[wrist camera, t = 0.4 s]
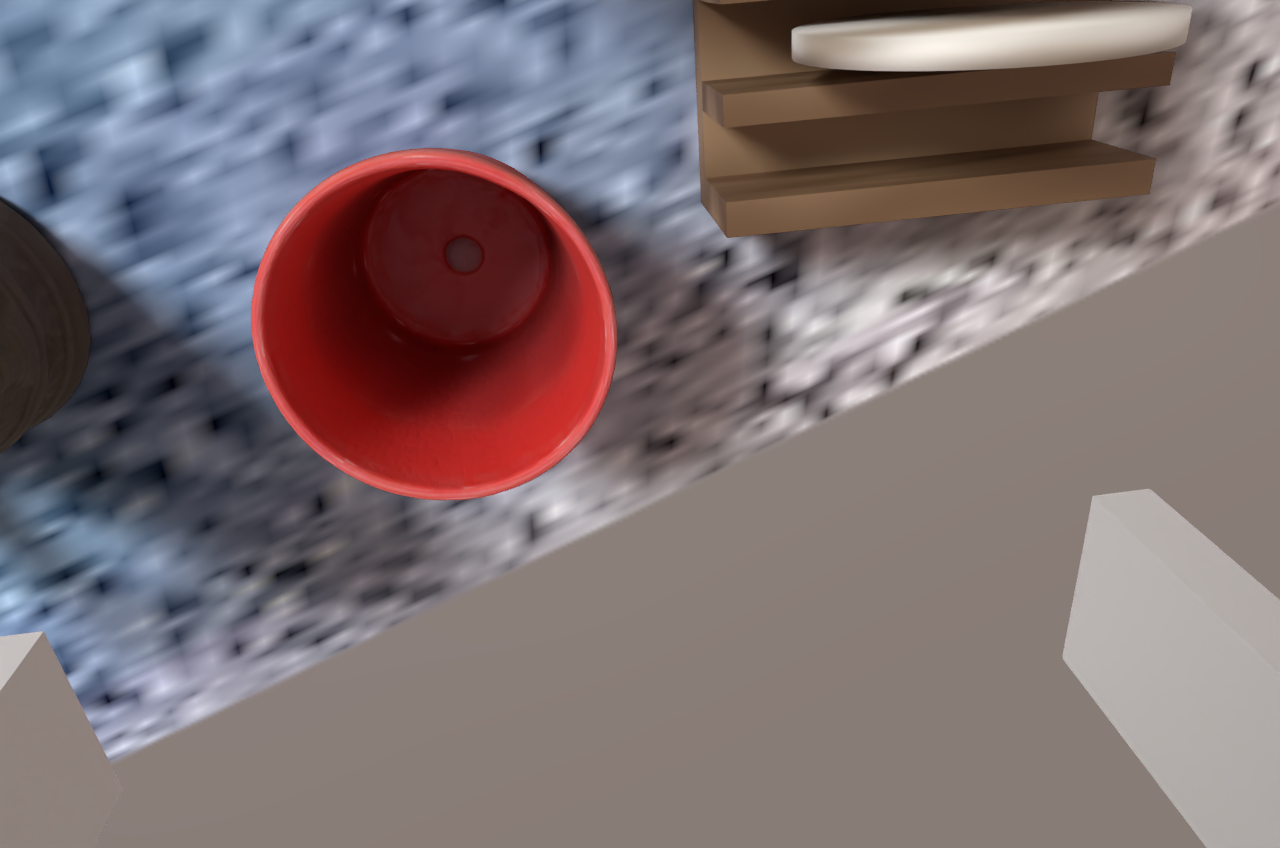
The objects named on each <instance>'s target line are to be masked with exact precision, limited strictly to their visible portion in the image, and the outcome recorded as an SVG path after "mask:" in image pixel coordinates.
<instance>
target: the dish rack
mask: <svg viewBox="0 0 1280 848" xmlns="http://www.w3.org/2000/svg"><path fill="white" fill-rule="evenodd" d="M1191 14H1192V7H1190V6H1188V5H1182V4H1175V3H1164V2H1144V1H1112V0H693V18H694V42H695V65H696V88H697V112H698V135H699V158H700V182H701V203H702V204H703V206H704V207H705V208H706V210H707V211H708V212H709V214H710V215H711V216H712V218H713V219H714V220H715V222H716V223H717V225H718V226H719V227H720V229H721V230H722V231H723V233H724V234H725V235H726V237H727V238H731V237H740V236H750V235H760V234H769V233H779V232H789V231H798V230H808V229H817V228H827V227H837V226H846V225H856V224H866V223H875V222H885V221H894V220H904V219H914V218H923V217H933V216H943V215H952V214H962V213H971V212H981V211H991V210H1000V209H1010V208H1020V207H1029V206H1039V205H1048V204H1058V203H1068V202H1077V201H1087V200H1096V199H1106V198H1116V197H1125V196H1135V195H1145V194H1150V188H1151V183H1152V178H1153V172H1154V167H1155V161H1156V159H1154V158H1151V157H1148V156H1144V155H1141V154H1138V153H1134V152H1131V151H1128V150H1124V149H1121V148H1118V147H1114V146H1111V145H1108V144H1104V143H1101V142H1098V141H1094V140H1091V138H1092V132H1093V125H1094V119H1095V112H1096V105H1097V99H1098V92H1103V91H1113V90H1123V89H1134V88H1144V87H1155V86H1165V85H1170V81H1171V75H1172V70H1173V64H1174V59H1175V54H1176V53H1175V52H1167V51H1165V50H1169V49H1172V48H1176V47H1178V46H1181V45H1183V44H1184V43H1185V42H1186V41H1187V35H1188V30H1189V25H1190V19H1191Z"/></svg>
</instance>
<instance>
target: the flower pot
mask: <svg viewBox="0 0 1280 848" xmlns="http://www.w3.org/2000/svg"><path fill="white" fill-rule="evenodd" d="M251 327H252V336H253V343H254V349H255V354H256V358H257V362H258V365H259V368H260V371H261V374H262V377H263V379H264V382H265V384H266V386H267V388H268V390H269V392H270V394H271V396H272V398H273V399H274V401H275V403H276V405H277V407H278V408H279V410H280V411H281V413H282V414H283V416H284V417H285V419H286V420H287V421H288V423H289V424H290V425H291V427H292V428H293V429H294V430H295V432H296V433H297V434H298V435H299V436H300V437H301V438H302V439H303V440H304V441H305V442H306V443H307V444H308V445H309V446H310V447H311V448H312V449H313V450H314V451H315V452H316V453H318V454H319V455H320V456H321V457H323V458H324V459H325V460H327V461H328V462H330V463H331V464H332V465H334V466H335V467H337V468H338V469H340V470H342V471H343V472H345V473H346V474H348V475H350V476H352V477H354V478H356V479H357V480H359V481H361V482H363V483H366V484H368V485H371V486H373V487H375V488H378V489H381V490H384V491H388V492H391V493H394V494H399V495H403V496H409V497H414V498H420V499H428V500H465V499H473V498H480V497H485V496H489V495H494V494H497V493H500V492H503V491H506V490H509V489H512V488H515V487H517V486H520V485H522V484H524V483H526V482H529V481H531V480H533V479H534V478H536V477H538V476H540V475H541V474H543V473H544V472H546V471H547V470H549V469H551V468H552V467H553V466H555V465H556V464H557V463H559V462H560V461H561V460H562V459H563V458H564V457H565V456H567V455H568V454H569V453H570V452H571V451H572V450H573V449H574V448H575V447H576V446H577V445H578V444H579V442H580V441H581V440H582V438H584V437H585V435H586V434H587V432H588V431H589V430H590V428H591V427H592V425H593V423H594V422H595V420H596V418H597V417H598V415H599V413H600V411H601V409H602V407H603V404H604V402H605V400H606V397H607V394H608V392H609V389H610V385H611V382H612V378H613V374H614V369H615V363H616V353H617V321H616V313H615V307H614V301H613V297H612V293H611V289H610V286H609V283H608V281H607V278H606V275H605V272H604V270H603V267H602V265H601V263H600V261H599V259H598V257H597V255H596V253H595V251H594V249H593V248H592V246H591V244H590V242H589V241H588V239H587V238H586V236H585V234H584V233H583V232H582V230H581V229H580V228H579V226H578V225H577V223H576V222H575V221H574V220H573V219H572V218H571V216H570V215H569V214H568V213H567V212H566V211H565V210H564V209H563V208H562V207H561V206H560V205H559V204H558V203H557V202H556V201H555V200H554V199H553V198H552V197H551V196H550V195H549V194H548V193H546V192H545V191H544V190H543V189H541V188H540V187H539V186H538V185H536V184H535V183H534V182H533V181H531V180H530V179H529V178H527V177H526V176H524V175H523V174H522V173H520V172H518V171H517V170H515V169H514V168H512V167H510V166H508V165H506V164H504V163H502V162H500V161H498V160H495V159H493V158H491V157H488V156H485V155H482V154H478V153H474V152H470V151H463V150H454V149H443V148H422V149H409V150H403V151H396V152H390V153H386V154H382V155H378V156H375V157H372V158H369V159H366V160H363V161H360V162H358V163H356V164H353V165H351V166H349V167H346V168H345V169H343V170H341V171H339V172H337V173H335V174H334V175H332V176H330V177H329V178H327V179H325V180H324V181H323V182H321V183H320V184H319V185H317V186H316V187H314V188H313V189H312V190H311V191H310V192H309V193H308V194H306V195H305V196H304V197H303V198H302V199H301V200H300V201H299V202H298V203H297V204H296V205H295V206H294V207H293V208H292V209H291V211H290V212H289V213H288V214H287V216H286V217H285V218H284V220H283V221H282V223H281V224H280V226H279V227H278V229H277V230H276V231H275V233H274V235H273V237H272V238H271V240H270V242H269V244H268V247H267V249H266V251H265V253H264V255H263V258H262V261H261V263H260V266H259V269H258V273H257V276H256V280H255V285H254V292H253V298H252V307H251Z"/></svg>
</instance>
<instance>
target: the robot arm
mask: <svg viewBox="0 0 1280 848" xmlns="http://www.w3.org/2000/svg"><path fill="white" fill-rule="evenodd" d="M1062 658H1063V660H1064V661H1065V662H1066V663H1067V665H1068V666H1069V668H1070V669H1071V670H1072V672H1073V673H1074V674H1075V676H1076V677H1077V678H1078V679H1079V681H1080V682H1081V683H1082V685H1083V686H1084V687H1085V689H1086V690H1087V691H1088V693H1089V694H1090V695H1091V696H1092V698H1093V699H1094V700H1095V702H1096V703H1097V704H1098V706H1099V707H1100V708H1101V710H1102V711H1103V712H1104V714H1105V715H1106V716H1107V718H1108V719H1109V720H1110V721H1111V723H1112V724H1113V725H1114V727H1115V728H1116V729H1117V731H1118V732H1119V733H1120V735H1121V736H1122V737H1123V738H1124V740H1125V741H1126V742H1127V744H1128V745H1129V746H1130V748H1131V749H1132V750H1133V752H1134V753H1135V754H1136V756H1137V757H1138V758H1139V759H1140V761H1141V762H1142V764H1143V765H1144V766H1145V767H1146V769H1147V770H1148V771H1149V773H1150V774H1151V775H1152V776H1153V778H1154V779H1155V780H1156V782H1157V783H1158V785H1159V786H1160V787H1161V788H1162V790H1163V791H1164V792H1165V794H1166V795H1167V796H1168V798H1169V799H1170V800H1171V802H1172V803H1173V804H1174V806H1175V807H1176V808H1177V809H1178V811H1179V812H1180V813H1181V815H1182V816H1183V817H1184V819H1185V820H1186V821H1187V823H1188V824H1189V825H1190V827H1191V828H1192V829H1193V830H1194V832H1195V833H1196V834H1197V836H1198V837H1199V838H1200V840H1201V841H1202V842H1203V844H1204V845H1205V846H1206V847H1207V848H1280V600H1279V599H1278V598H1277V597H1276V596H1275V595H1273V594H1272V593H1271V592H1270V591H1268V589H1266V588H1265V587H1264V586H1263V585H1262V584H1261V583H1259V582H1258V581H1257V580H1256V579H1255V578H1253V577H1252V576H1251V575H1250V574H1249V573H1248V572H1247V571H1245V570H1244V569H1243V568H1242V567H1241V566H1239V565H1238V564H1237V563H1236V562H1235V561H1234V560H1233V559H1231V558H1230V557H1229V556H1228V555H1227V554H1225V553H1224V552H1223V551H1222V550H1221V549H1220V548H1218V547H1217V546H1216V545H1215V544H1213V542H1211V541H1210V540H1209V539H1208V538H1207V537H1206V536H1204V535H1203V534H1202V533H1201V532H1199V530H1197V529H1196V528H1195V527H1194V526H1193V525H1192V524H1190V523H1189V522H1188V521H1187V520H1186V519H1185V518H1183V517H1182V516H1181V515H1180V514H1179V513H1177V512H1176V511H1175V510H1174V509H1173V508H1172V507H1170V506H1169V505H1168V504H1167V503H1166V502H1165V501H1164V500H1162V499H1161V498H1160V497H1159V496H1158V495H1157V494H1155V493H1154V492H1153V491H1152V490H1151V489H1143V490H1135V491H1128V492H1120V493H1112V494H1104V495H1096V496H1093V498H1092V503H1091V509H1090V514H1089V519H1088V525H1087V530H1086V535H1085V540H1084V546H1083V551H1082V556H1081V562H1080V567H1079V572H1078V577H1077V582H1076V588H1075V593H1074V598H1073V604H1072V609H1071V614H1070V619H1069V625H1068V630H1067V635H1066V641H1065V646H1064V651H1063V656H1062ZM122 791H123V788H122V786H121V784H120V782H119V780H118V778H117V776H116V775H115V772H114V770H113V768H112V766H111V764H110V762H109V760H108V758H107V756H106V754H105V752H104V750H103V748H102V746H101V744H100V742H99V740H98V738H97V736H96V734H95V732H94V730H93V729H92V727H91V725H90V723H89V721H88V719H87V717H86V715H85V713H84V711H83V709H82V707H81V705H80V703H79V701H78V699H77V697H76V695H75V693H74V691H73V689H72V687H71V685H70V683H69V681H68V679H67V677H66V675H65V673H64V671H63V669H62V667H61V665H60V663H59V661H58V659H57V657H56V655H55V653H54V651H53V649H52V647H51V645H50V643H49V641H48V639H47V637H46V635H45V633H44V631H41V632H33V633H26V634H18V635H10V636H2V637H0V848H95V846H96V844H97V842H98V840H99V838H100V836H101V834H102V832H103V830H104V828H105V825H106V824H107V822H108V819H109V817H110V815H111V813H112V811H113V809H114V807H115V805H116V803H117V801H118V799H119V797H120V795H121V793H122Z"/></svg>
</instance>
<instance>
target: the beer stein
mask: <svg viewBox="0 0 1280 848" xmlns="http://www.w3.org/2000/svg"><path fill="white" fill-rule="evenodd" d="M90 339H91V337H90V329H89V321H88V313H87V310H86V307H85V304H84V302H83V299H82V297H81V294H80V292H79V289H78V287H77V284H76V282H75V280H74V278H73V277H72V275H71V273H70V271H69V270H68V268H67V266H66V264H65V262H64V261H63V259H62V258H61V257H60V256H59V254H58V253H57V252H56V251H55V250H54V249H53V247H52V246H51V245H50V244H49V243H48V242H47V240H46V239H45V238H44V237H43V236H42V234H41V233H40V232H39V231H38V230H36V229H35V228H34V227H33V226H32V225H31V224H30V223H29V222H28V221H27V220H26V219H24V218H23V217H22V216H21V215H20V214H18V213H17V212H15V211H14V210H13V209H11V208H10V207H8V206H7V205H6V204H4V203H3V202H1V201H0V453H2V452H4V451H5V450H7V449H8V448H9V447H10V446H11V445H13V444H14V443H15V442H16V441H18V440H19V439H20V438H21V436H22V435H23V433H24V432H25V431H27V430H29V429H31V428H33V427H34V426H36V425H38V424H40V423H41V422H43V421H45V420H47V419H48V418H50V417H52V416H53V415H54V414H55V413H56V412H57V411H58V410H59V409H60V408H61V407H62V406H63V405H64V404H65V403H66V402H67V401H68V400H69V399H70V398H71V396H72V395H73V393H74V391H75V390H76V388H77V387H78V385H79V383H80V382H81V380H82V377H83V374H84V371H85V369H86V366H87V363H88V357H89V348H90Z"/></svg>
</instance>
